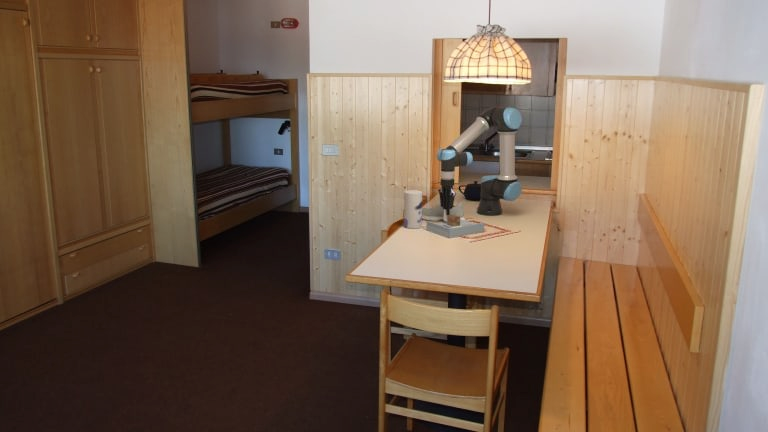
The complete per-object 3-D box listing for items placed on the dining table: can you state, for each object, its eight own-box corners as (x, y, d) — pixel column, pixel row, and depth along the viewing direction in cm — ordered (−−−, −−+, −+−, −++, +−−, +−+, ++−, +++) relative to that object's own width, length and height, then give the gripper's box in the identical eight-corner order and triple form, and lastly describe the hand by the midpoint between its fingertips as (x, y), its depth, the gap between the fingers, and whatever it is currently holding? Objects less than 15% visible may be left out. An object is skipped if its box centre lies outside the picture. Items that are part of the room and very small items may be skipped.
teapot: (454, 199, 438) (455, 181, 435) (461, 195, 452) (462, 177, 449) (491, 203, 429) (492, 184, 426) (497, 198, 443) (498, 180, 440)
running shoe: (421, 215, 396) (421, 193, 392) (468, 221, 383) (469, 198, 380) (413, 219, 386) (414, 196, 383) (462, 225, 374) (462, 201, 370)
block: (454, 223, 365) (454, 214, 363) (460, 225, 361) (460, 216, 359) (447, 224, 362) (447, 215, 361) (452, 226, 358) (453, 217, 357)
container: (420, 229, 364) (421, 193, 359) (402, 228, 366) (402, 192, 361) (422, 224, 373) (423, 190, 369) (405, 223, 375) (406, 189, 370)
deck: (460, 224, 375) (460, 215, 374) (483, 231, 359) (484, 223, 358) (426, 229, 362) (426, 221, 361) (449, 238, 346) (449, 229, 345)
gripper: (460, 179, 356) (459, 222, 362) (445, 176, 367) (444, 217, 372) (449, 181, 352) (448, 223, 358) (434, 177, 363) (433, 218, 368)
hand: (446, 220), depth 365 cm, fingers closed
